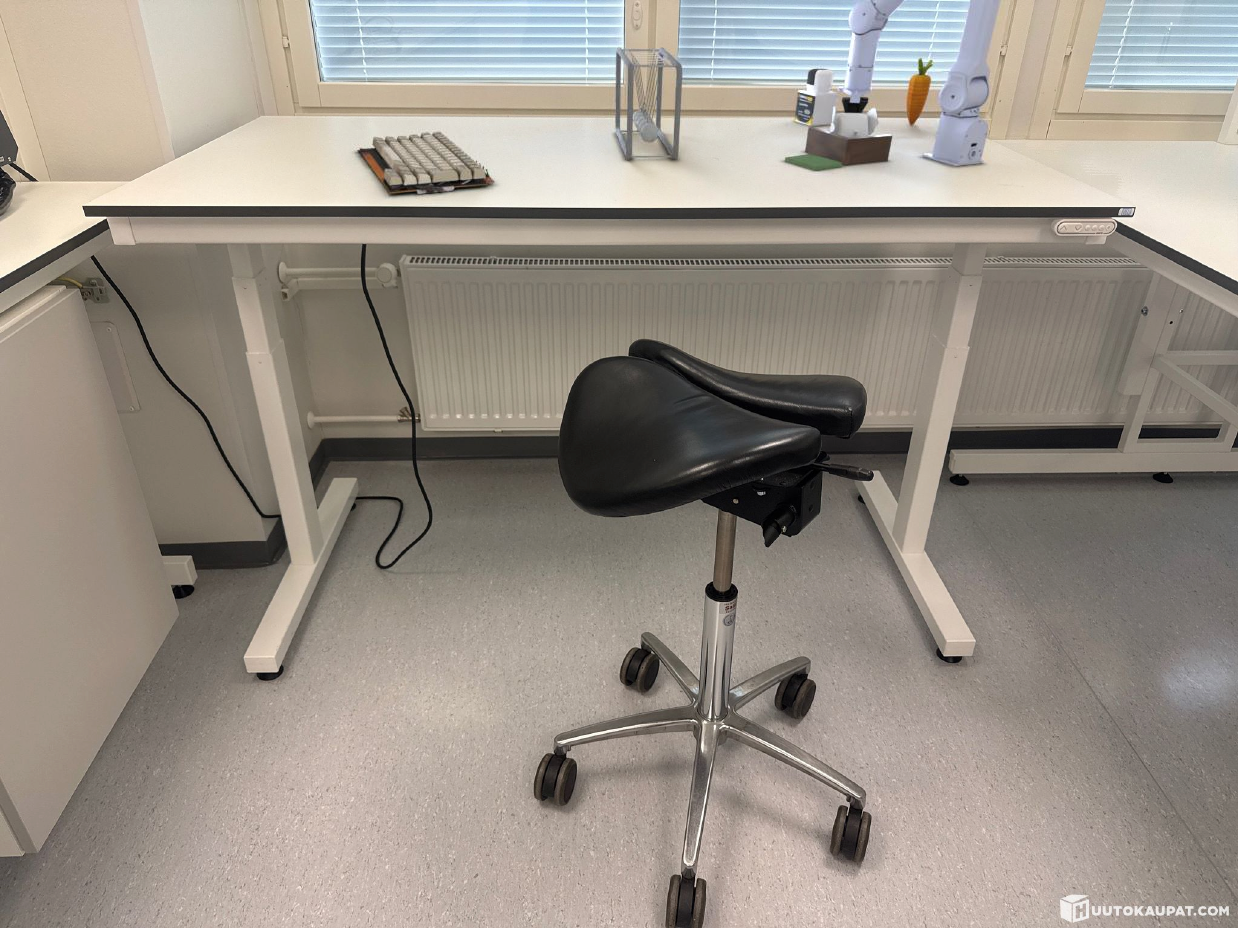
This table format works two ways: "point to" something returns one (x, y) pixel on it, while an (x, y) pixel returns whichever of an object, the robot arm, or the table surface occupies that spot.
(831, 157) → the corner fence
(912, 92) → the carrot
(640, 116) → the newton's cradle
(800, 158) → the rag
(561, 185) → the table surface
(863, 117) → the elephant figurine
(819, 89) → the medicine bottle
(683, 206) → the table surface
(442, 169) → the mechanical keyboard
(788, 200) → the table surface
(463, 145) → the table surface
